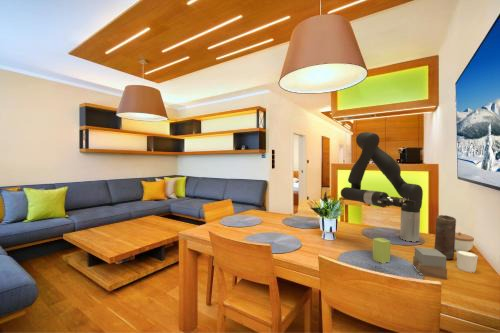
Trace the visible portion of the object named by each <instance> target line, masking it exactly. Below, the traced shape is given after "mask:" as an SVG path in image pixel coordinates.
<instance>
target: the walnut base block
mask: <svg viewBox="0 0 500 333" xmlns="http://www.w3.org/2000/svg"><path fill="white" fill-rule="evenodd" d="M412 256H413V255H412ZM414 256H415V255H414ZM414 256H413V257H412V266H413V265H414V266H415V267H416V269H417V270H418V271H419V273H422V274H423V275H424V277H429V278H436V279H442V280H448V269H447V267H446V268H441V267H433V266H424V265H422V264H421V263H420V262H419V261H418V260H417V259H416V258H415V257H414ZM414 266H413V267H414ZM416 269H415V270H416ZM419 273H418V274H419ZM423 275H422V276H423Z"/></svg>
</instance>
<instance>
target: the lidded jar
mask: <svg viewBox="0 0 500 333" xmlns="http://www.w3.org/2000/svg"><path fill="white" fill-rule="evenodd" d="M474 240H475V238H474V237H473V236H471V235H469V234H465V233H461V231H460V232H459V231H458V232H455V249H454V252H456V251H467V252H470V250H472V249H473V246H474Z"/></svg>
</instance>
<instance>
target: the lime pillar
mask: <svg viewBox="0 0 500 333" xmlns="http://www.w3.org/2000/svg"><path fill="white" fill-rule="evenodd" d="M373 259H374V260H373ZM372 260H373V261H375V260H376V261H375V262H377V261H378V262H377V263H379V262H381V263H384V262H388V261H390V262H391V240H389V239H386V238H383V237H376V238H373V239H372ZM381 263H380V264H381Z"/></svg>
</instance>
